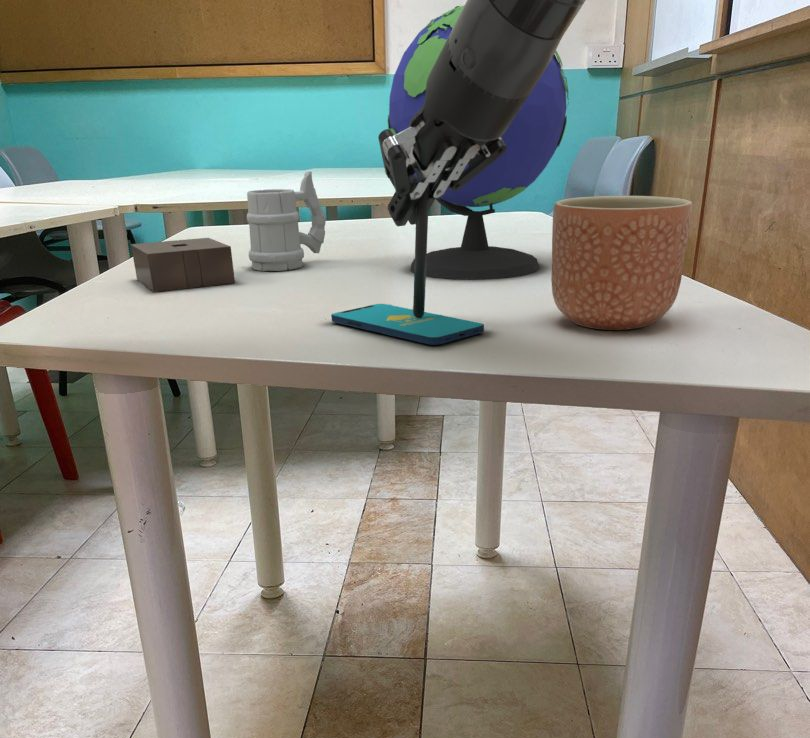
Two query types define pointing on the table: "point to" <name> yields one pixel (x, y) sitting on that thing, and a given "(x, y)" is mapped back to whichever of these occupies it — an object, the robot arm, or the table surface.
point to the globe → (504, 178)
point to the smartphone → (408, 324)
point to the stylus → (420, 254)
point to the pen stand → (183, 264)
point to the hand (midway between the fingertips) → (402, 217)
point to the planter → (618, 258)
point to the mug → (283, 226)
